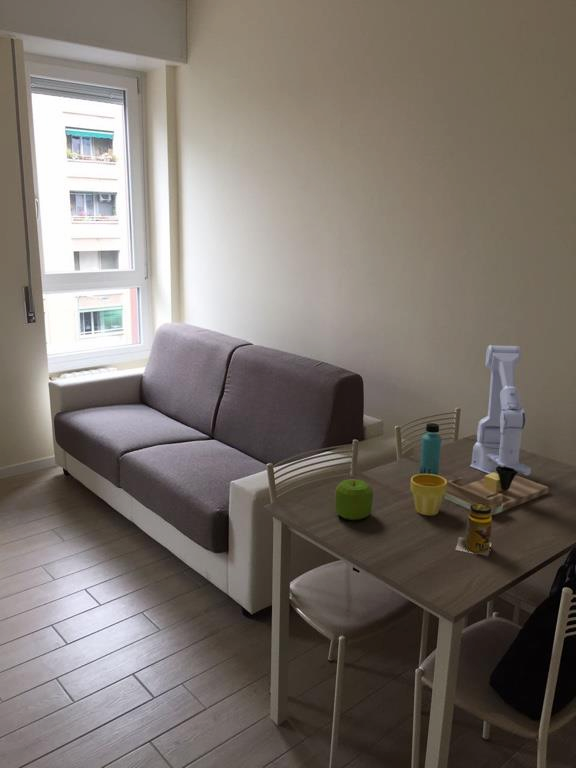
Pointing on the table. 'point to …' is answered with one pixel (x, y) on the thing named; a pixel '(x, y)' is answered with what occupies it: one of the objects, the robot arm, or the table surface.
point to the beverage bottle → (430, 450)
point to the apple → (353, 499)
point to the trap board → (494, 493)
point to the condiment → (477, 530)
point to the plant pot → (428, 492)
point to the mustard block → (492, 482)
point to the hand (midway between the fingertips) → (505, 489)
